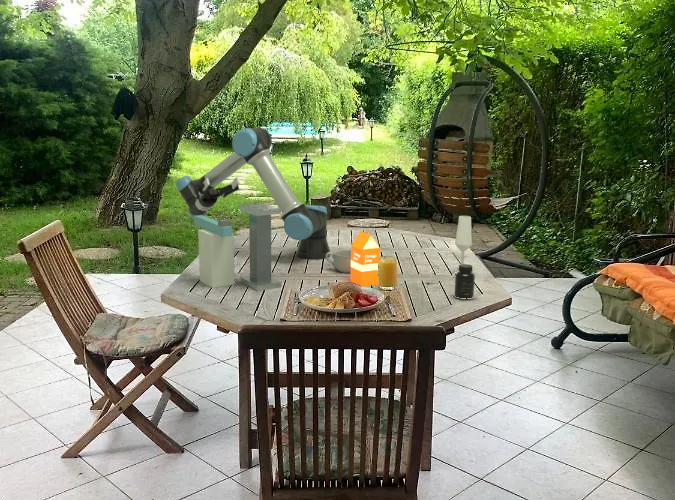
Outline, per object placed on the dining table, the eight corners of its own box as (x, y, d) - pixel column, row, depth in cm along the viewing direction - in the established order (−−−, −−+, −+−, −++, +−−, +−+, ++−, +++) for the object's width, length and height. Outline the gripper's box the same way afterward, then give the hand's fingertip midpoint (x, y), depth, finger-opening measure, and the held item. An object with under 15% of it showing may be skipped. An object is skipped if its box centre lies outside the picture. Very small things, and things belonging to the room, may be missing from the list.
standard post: (240, 282, 248) (239, 205, 242) (263, 278, 254) (263, 203, 247) (257, 290, 237) (256, 210, 230) (281, 287, 243) (281, 208, 236)
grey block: (199, 280, 249) (198, 229, 245) (221, 277, 254) (220, 227, 250) (212, 287, 240) (211, 235, 235) (234, 284, 245) (233, 233, 240)
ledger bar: (193, 224, 255) (193, 210, 254) (202, 223, 257) (201, 210, 256) (223, 236, 233) (223, 222, 232) (232, 236, 235) (232, 221, 234)
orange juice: (361, 286, 245) (362, 235, 240) (350, 281, 253) (351, 231, 248) (378, 284, 248) (380, 233, 244) (367, 279, 256) (368, 229, 252)
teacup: (362, 269, 271) (362, 250, 269) (354, 275, 261) (354, 256, 259) (331, 266, 276) (331, 247, 274) (322, 272, 266) (322, 253, 264)
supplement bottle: (452, 294, 237) (453, 263, 234) (470, 294, 237) (472, 263, 235) (457, 300, 230) (459, 268, 227) (475, 300, 231) (477, 267, 228)
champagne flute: (457, 276, 262) (461, 218, 257) (450, 272, 269) (453, 215, 263) (472, 275, 264) (476, 217, 259) (465, 271, 270) (468, 215, 265)
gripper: (234, 205, 292) (252, 187, 275) (181, 209, 278) (197, 190, 261) (230, 190, 294) (248, 171, 277) (177, 193, 280) (193, 173, 263)
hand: (223, 180), depth 269 cm, fingers open, 13 cm apart
